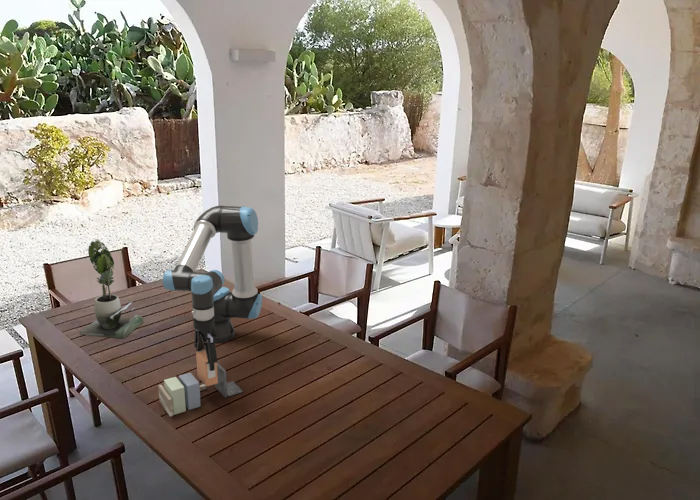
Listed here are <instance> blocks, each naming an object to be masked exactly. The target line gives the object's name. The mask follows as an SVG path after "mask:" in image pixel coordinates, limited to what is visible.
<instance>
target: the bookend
mask: <svg viewBox="0 0 700 500" xmlns="http://www.w3.org/2000/svg"><path fill="white" fill-rule="evenodd" d="M217 376H218V383H217V384H214V387H215V389H216V390H217V391H218V392H219V393H220V394H221V395H222V396H223V398H225V399H226V398H229V397H232V396H235V395H238V394H241V393H243V392H244V391H243V390H242V388H241V387H239V385H238V384H236V383H235V381H233V380H232V381H229V382H228V381H227V379H228V378H227V370H226V369H225V368H224V367H222V365H221V364H220V363H219V362H218V361H217Z"/></svg>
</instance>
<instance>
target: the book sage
mask: <svg viewBox="0 0 700 500" xmlns="http://www.w3.org/2000/svg"><path fill="white" fill-rule="evenodd" d="M163 387H164V389H165V390H166V391H167V393H168V394H169V395H170V397H171V398H172V404H173V416H174V415H178V414H181V413H184V412H186V411H187V407H186V405H185V391H184V386H183V385H182V384H181V383H180V381H179V378H177V376H173V377H169V378H167V379H163Z"/></svg>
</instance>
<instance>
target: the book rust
mask: <svg viewBox="0 0 700 500" xmlns="http://www.w3.org/2000/svg"><path fill="white" fill-rule="evenodd" d="M195 355H196V358H195V359H196V374H197V378H198V379H199V380H200V381H201V382H202V384H205V385H206V388H207V387H210V386H213V385H215V384H217V383H218V376H217V362H218V361H217V362H216V363H215V377H213V378H209V379H208V372H207V363H206V362H208V359H207V355H206V350H205V349H204V351H201V352H198V351H196V352H195Z"/></svg>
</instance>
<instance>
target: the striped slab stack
mask: <svg viewBox="0 0 700 500" xmlns="http://www.w3.org/2000/svg"><path fill="white" fill-rule="evenodd" d="M157 387H158V388H157V389H158V398H159V399H158V400H159V403H160V405H161V406H162V407H163V409H164V411H166V413H167V414H168V417H173V416H174V414H173V404H172V398H171V397H170V395H169V394H168V393H167V391H166V390H165V389H164V385H162V384H159V385H157ZM199 387H200V392H201V391H204V390H205V391H206V390H207V387H206V385H205V384H204V383H202V384H199Z"/></svg>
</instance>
